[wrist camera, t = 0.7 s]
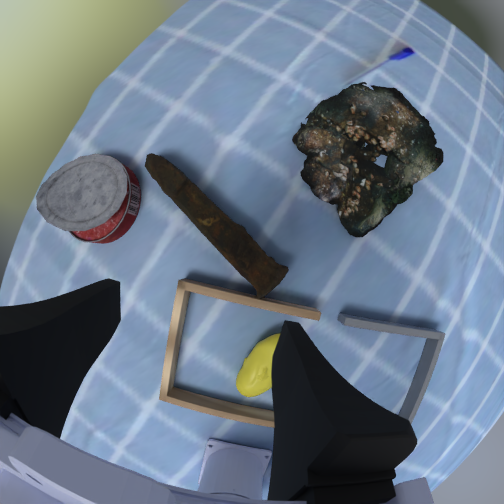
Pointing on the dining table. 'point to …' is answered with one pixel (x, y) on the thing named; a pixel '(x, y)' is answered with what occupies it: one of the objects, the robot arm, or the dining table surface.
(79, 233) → the canned food
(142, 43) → the dining table surface
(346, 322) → the grey frame
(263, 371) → the lemon
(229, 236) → the hand tool
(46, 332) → the robot arm
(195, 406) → the oak frame
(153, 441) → the dining table surface
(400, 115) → the decorative rock
